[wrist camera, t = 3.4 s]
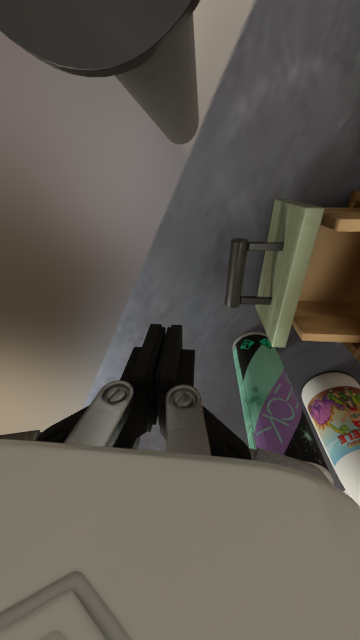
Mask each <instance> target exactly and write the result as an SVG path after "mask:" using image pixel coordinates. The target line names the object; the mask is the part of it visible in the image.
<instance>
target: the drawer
mask: <svg viewBox="0 0 360 640" xmlns="http://www.w3.org/2000/svg"><path fill="white" fill-rule="evenodd" d="M247 250H249V251H265V256H264V262H263V267H262V273H261V278H260V284H259V289H258V295H257V296H241V292H242V285H243V278H244V271H245V264H246V257H247ZM240 304H256V306H255V307H256V309H257V312H258V314H259V317H260V319H261V321H262V324H263V326H264V329H265V331H266V333H267V336H268V338H269V341H270V343H271V345H272V347H286V343H287V340H288V336H289V333H290V329H291V326H292V325H293V327H294V328H295V330H296V332H297V333H298V335H299V336H300V338H301V340H302V341H325V342H349V343H360V208H324V207H320V206H315V205H311V204H307V203H303V202H298V201H294V200H290V199H275V201H274V207H273V212H272V218H271V223H270V229H269V234H268V240H267V242H249V240H247V239H243V238H235V239H232V240H231V249H230V259H229V269H228V278H227V288H226V298H225V305H226V306H228V307H232V308H235V307H238V306H239V305H240Z"/></svg>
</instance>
